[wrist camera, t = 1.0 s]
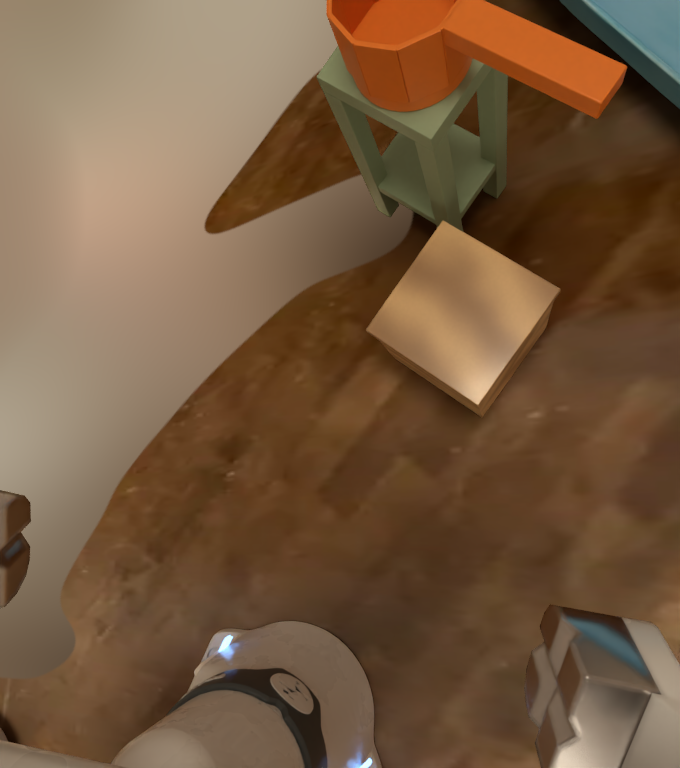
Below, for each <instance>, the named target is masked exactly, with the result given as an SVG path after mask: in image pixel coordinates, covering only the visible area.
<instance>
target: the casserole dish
mask: <svg viewBox="0 0 680 768" xmlns="http://www.w3.org/2000/svg"><path fill="white" fill-rule="evenodd" d="M559 1H560V2H561V3H562V4H563V5H564V6H565V7H566V8H567V9H568V10H569V11H570V12H571V13H572V14H573V15H574V16H575V17H576V18H577V19H578V20H580V21H581V22H582V23H583V24H584V25H585V26H586V27H587V28H588V29H590V30H591V31H592V32H593V33H594V34H595V35H596V36H597V37H599V38H600V39H601V40H602V41H603V42H604V43H605V44H607V45H608V46H609V47H610V48H611V49H612V50H613V51H615V52H616V53H617V54H618V55H619V56H620V57H621V58H623V59H624V60H625V61H626V62H627V63H628V64H629V65H630V66H631V67H633V68H634V69H635V70H636V71H637V72H638V73H639V74H640V75H641V76H642V77H644V78H645V79H646V80H647V81H648V82H649V83H650V84H651V85H653V86H654V87H655V88H656V89H657V90H658V91H659V92H660V93H662V94H663V95H664V96H665V97H666V98H667V99H668V100H670V101H671V102H672V103H673V104H674V105H676V106H677V107H678V108H679V109H680V0H559Z"/></svg>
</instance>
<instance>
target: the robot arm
mask: <svg viewBox="0 0 680 768" xmlns="http://www.w3.org/2000/svg"><path fill="white" fill-rule="evenodd" d="M30 522H31V518H30V502H29V501H28V499H27V498H26V497H25V496H24V495H19V494H15V493H10V492H6V491H1V490H0V608H2V607H5V606H6V605H7V604H8V603H9V602H10V601H11V599H12V598H13V597H14V596H15V595H16V594H17V592H18V590H19V588H20V586H21V584H22V582H23V580H24V578H25V577H26V573H27V569H28V565H29V560H30V546H29V544H28V543H27V541H26V539H25V538H24V536H23V535H22V533H21V531H22V530H23V529H24V528H25V527H26V526H27V525H28V524H29V523H30ZM540 629H541V633H542V636H543V639H544V642H543V643H542V644H541V645H539V646H538V647H536V648H535V649H533V650H532V652H531V655H530V658H529V662H528V665H527V669H526V678H525V688H524V689H525V702H526V707H527V712H528V716H529V718H530V719H531V720H532V721H533V722H534V723H535V724H536V725H537V727H538V728H539V732H538V735H537V738H536V741H535V745H536V749H537V753H538V757H539V761H540V766H541V768H680V664H679V663H678V661H677V659H676V658H675V656H674V654H673V652H672V651H671V649H670V647H669V646H668V644H667V642H666V641H665V639H664V637H663V635H662V634H661V632H660V630H659V629H658V627H657V626H655V625H654V624H653V623H651V622H649V621H643V620H637V619H631V618H625V617H619V616H617V617H616V616H611V615H605V614H600V613H594V612H589V611H583V610H578V609H572V608H567V607H561V606H556V605H549V607H548V608H547V610H546V611H545V613H544V616H543V618H542V621H541V624H540ZM194 674H195V676H194V678H193V680H192V683H191V685H190V687H189V689H188V691H187V693H186V694H185V695H184V696H183V697H182V698H181V699H180V700H179V701H178V702H177V703H176V704H175V705H174V706H173V707H172V709H171V710H170V711H169V712H168V714H167V715H166V717H165V718H163V719H162V720H160V721H159V722H157V723H156V724H155V725H153V726H152V727H150V728H149V729H147V730H146V731H145V732H143V733H142V734H140V735H139V736H137V737H136V738H135V739H133V740H132V741H130V742H129V743H128V744H127V745H126V746H125V747H124V748H123V749H122V750H121V751H120V752H119V753H118V754H117V756H116V757H115V758H114V760H113V761H112V762H111V764H108V763H104V762H99V761H94V760H90V759H85V758H81V757H76V756H71V755H67V754H62V753H58V752H53V751H48V750H44V749H39V748H35V747H30V746H26V745H21V744H16V743H12V742H7V741H3V740H0V768H382V766H381V762H380V759H379V756H378V753H377V750H376V747H375V745H374V704H373V697H372V693H371V689H370V685H369V682H368V680H367V677H366V675H365V672H364V670H363V668H362V667H361V665H360V663H359V662H358V660H357V659H356V657H355V656H354V654H353V653H352V652H351V651H350V650H349V648H348V647H347V646H346V645H345V644H344V643H343V642H341V641H340V640H339V639H338V638H337V637H335V636H334V635H332V634H331V633H329V632H328V631H326V630H324V629H322V628H320V627H317V626H315V625H312V624H308V623H304V622H298V621H283V622H276V623H272V624H269V625H266V626H263V627H260V628H257V629H253V630H243V629H234V628H226V629H222V630H220V631H218V632H217V633H216V634H215V635H214V636H213V637H212V639H211V641H210V643H209V645H208V647H207V650H206V652H205V654H204V656H203V658H202V661H201V663H200V665H199V666H198V667H197V668H196V669H195V671H194Z"/></svg>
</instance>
